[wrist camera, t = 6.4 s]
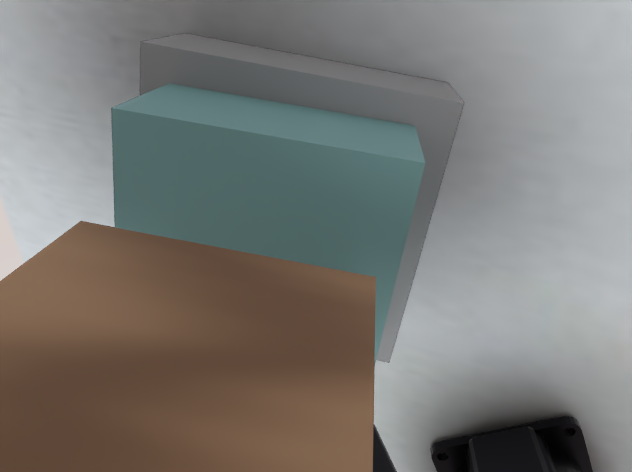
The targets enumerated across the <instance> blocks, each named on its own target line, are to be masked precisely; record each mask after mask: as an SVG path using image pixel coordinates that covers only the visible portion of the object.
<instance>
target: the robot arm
mask: <svg viewBox="0 0 632 472" xmlns="http://www.w3.org/2000/svg"><path fill="white" fill-rule="evenodd" d="M566 428H570V429H566ZM440 453H444V454H440ZM431 456H432V460H433V463H434V465H435V467H436V470H437V472H593V470H592V467H591V463H590V459H589V455H588V452H587V448H586V444H585V441H584V437H583V433H582V430H581V427H580V425H579V423H578V421H577V420H576V419H575V418H573V417H569V416H566V417H559V418H554V419H550V420H545V421H540V422H535V423H530V424H525V425H520V426H515V427H510V428H505V429H500V430H495V431H490V432H485V433H480V434H475V435H470V436H465V437H460V438H456V439H451V440H446V441H441V442H437V443H434V444H433V445H432V447H431ZM373 472H397V471H396V469H395V467H394V465H393V463H392V461H391V459H390V457H389V454H388V452H387V450H386V448H385V446H384V444H383V442H382V440H381V437H380V435H379V433H378V431H377V429H376V427H375V425H374V424H373Z"/></svg>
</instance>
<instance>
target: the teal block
mask: <svg viewBox="0 0 632 472" xmlns="http://www.w3.org/2000/svg"><path fill="white" fill-rule="evenodd" d="M111 112H112V147H113V182H114V218H115V228H120V229H126V230H131V231H136V232H141V233H147V234H152V235H157V236H163V237H168V238H173V239H178V240H184V241H189V242H194V243H199V244H205V245H210V246H215V247H221V248H226V249H231V250H236V251H242V252H247V253H252V254H257V255H263V256H268V257H273V258H279V259H284V260H289V261H294V262H300V263H305V264H310V265H316V266H321V267H326V268H331V269H337V270H342V271H347V272H352V273H358V274H363V275H368V276H374V277H376V301H375V361H374V366H375V362H376V358H377V354H378V350H379V346H380V342H381V338H382V334H383V330H384V326H385V322H386V318H387V314H388V310H389V306H390V302H391V298H392V294H393V290H394V286H395V282H396V278H397V274H398V270H399V266H400V262H401V258H402V254H403V250H404V246H405V242H406V238H407V234H408V230H409V227H410V223H411V219H412V215H413V211H414V207H415V203H416V199H417V195H418V191H419V187H420V183H421V179H422V175H423V171H424V167H425V159H424V156H423V152H422V149H421V145H420V142H419V138H418V134H417V131H416V127H415V126H414V125H408V124H403V123H397V122H391V121H385V120H379V119H374V118H368V117H362V116H356V115H351V114H345V113H339V112H333V111H327V110H322V109H316V108H310V107H304V106H298V105H293V104H287V103H281V102H275V101H269V100H264V99H258V98H252V97H246V96H240V95H235V94H229V93H223V92H217V91H212V90H206V89H200V88H194V87H188V86H183V85H177V84H171V83H169V84H166V85H164V86H162V87H159V88H157V89H155V90H152V91H150V92H148V93H145V94H143V95H141V96H138V97H136V98H134V99H131V100H129V101H126V102H124V103H122V104H119V105H117V106H115V107H112V108H111Z"/></svg>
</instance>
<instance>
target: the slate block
mask: <svg viewBox="0 0 632 472" xmlns="http://www.w3.org/2000/svg"><path fill="white" fill-rule="evenodd" d="M169 83H171V84H177V85H183V86H188V87H194V88H200V89H206V90H212V91H217V92H223V93H229V94H235V95H240V96H246V97H252V98H258V99H264V100H269V101H275V102H281V103H287V104H293V105H298V106H304V107H310V108H316V109H322V110H327V111H333V112H339V113H345V114H351V115H356V116H362V117H368V118H374V119H379V120H385V121H391V122H397V123H403V124H408V125H414V126H415V127H416V131H417V134H418V138H419V142H420V145H421V149H422V152H423V156H424V159H425V167H424V171H423V175H422V179H421V183H420V187H419V191H418V195H417V199H416V203H415V207H414V211H413V215H412V219H411V223H410V227H409V230H408V234H407V238H406V242H405V246H404V250H403V254H402V258H401V262H400V266H399V270H398V274H397V278H396V282H395V286H394V290H393V294H392V298H391V302H390V306H389V310H388V314H387V318H386V322H385V326H384V330H383V334H382V338H381V342H380V346H379V350H378V354H377V358H376V360H378V361H383V362H388V363H389V362H390V358H391V355H392V351H393V348H394V345H395V341H396V338H397V334H398V331H399V327H400V324H401V320H402V317H403V313H404V310H405V306H406V303H407V299H408V296H409V293H410V289H411V286H412V282H413V279H414V275H415V272H416V268H417V265H418V261H419V258H420V254H421V251H422V248H423V244H424V241H425V237H426V234H427V230H428V227H429V223H430V220H431V216H432V213H433V209H434V206H435V203H436V199H437V196H438V192H439V189H440V185H441V182H442V178H443V175H444V171H445V168H446V164H447V161H448V158H449V154H450V151H451V147H452V144H453V140H454V137H455V133H456V130H457V126H458V123H459V119H460V116H461V113H462V109H463V106H464V102H463V101H462V99H461V98H460V97H459V96H458V94H457V93H456V92H455V91H454V89H453V88H452V87H451V86H450V84H449V83H447V82H442V81H437V80H432V79H426V78H421V77H416V76H410V75H405V74H400V73H394V72H389V71H384V70H378V69H373V68H368V67H363V66H357V65H352V64H347V63H341V62H336V61H331V60H325V59H320V58H315V57H310V56H304V55H299V54H294V53H288V52H283V51H278V50H272V49H267V48H262V47H256V46H251V45H246V44H241V43H235V42H230V41H225V40H219V39H214V38H209V37H203V36H198V35H193V34H187V33H183V34H178V35H172V36H167V37H162V38H157V39H151V40H146V41H141V44H140V96H141V95H143V94H145V93H148V92H150V91H152V90H155V89H157V88H159V87H162V86H164V85H166V84H169Z"/></svg>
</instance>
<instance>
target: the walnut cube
mask: <svg viewBox="0 0 632 472" xmlns="http://www.w3.org/2000/svg"><path fill="white" fill-rule="evenodd" d="M375 301H376V277H374V276H368V275H363V274H358V273H352V272H347V271H342V270H337V269H331V268H326V267H321V266H316V265H310V264H305V263H300V262H294V261H289V260H284V259H279V258H273V257H268V256H263V255H257V254H252V253H247V252H242V251H236V250H231V249H226V248H221V247H215V246H210V245H205V244H199V243H194V242H189V241H184V240H178V239H173V238H168V237H163V236H157V235H152V234H147V233H141V232H136V231H131V230H126V229H120V228H115V227H110V226H104V225H99V224H94V223H89V222H83V221H80V222H79V223H78V224H76V225H75V226H74V227H72V228H71V229H70V230H68V231H67V232H66V233H64V234H63V235H62V236H60V237H59V238H57V239H56V240H55V241H53V242H52V243H51V244H49V245H48V246H47V247H45V248H44V249H43V250H41V251H40V252H39V253H37V254H36V255H35V256H33V257H32V258H31V259H29V260H28V261H27V262H25V263H24V264H23V265H21V266H20V267H19V268H17V269H16V270H15V271H13V272H12V273H11V274H9V275H8V276H7V277H5V278H4V279H3V280H1V281H0V472H373V421H374V361H375Z"/></svg>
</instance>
